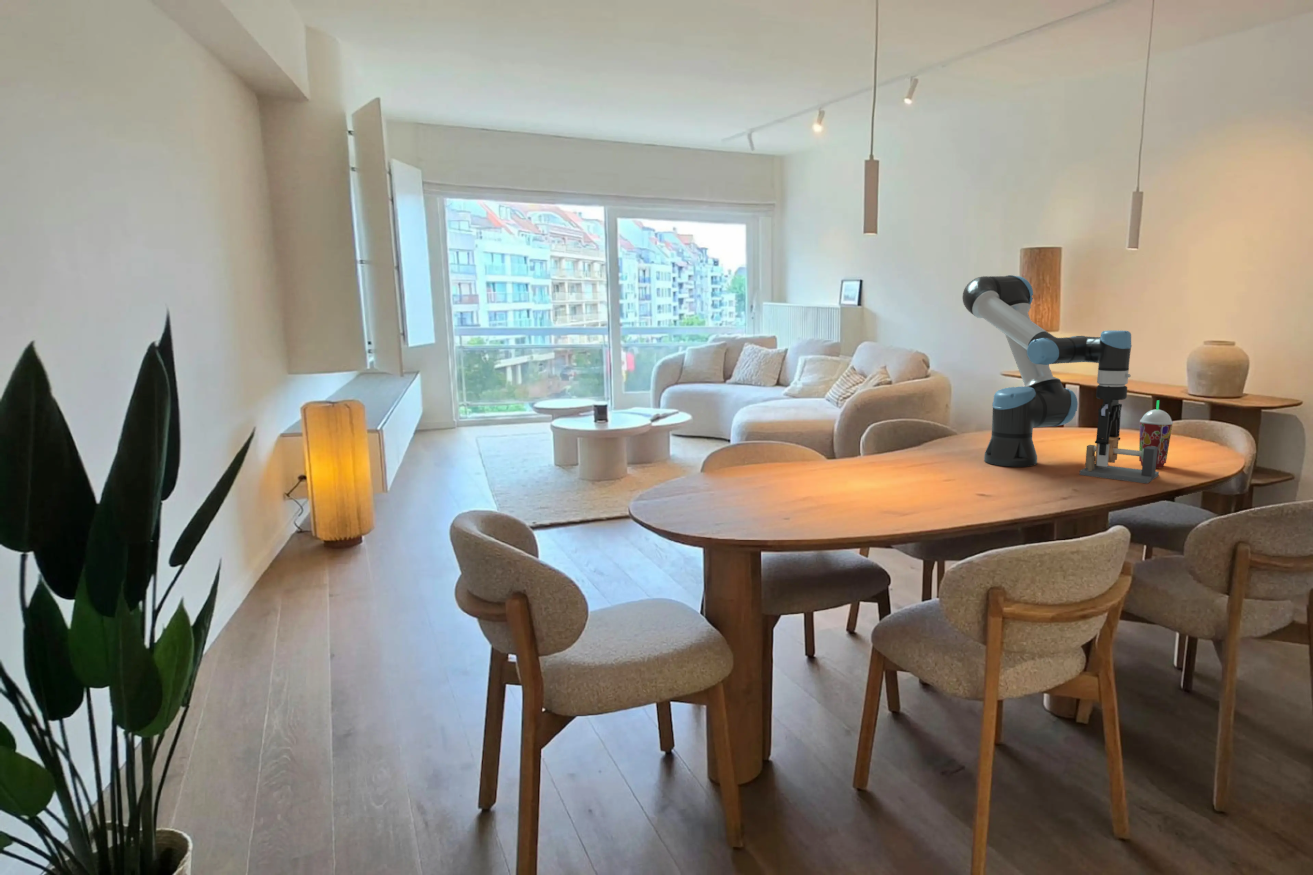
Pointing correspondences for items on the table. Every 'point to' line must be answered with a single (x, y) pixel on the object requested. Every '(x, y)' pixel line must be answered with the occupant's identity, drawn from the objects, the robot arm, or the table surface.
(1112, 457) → the sleeve
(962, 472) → the table surface
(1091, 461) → the peg stand base
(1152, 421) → the smoothie
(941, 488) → the table surface
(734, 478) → the table surface
